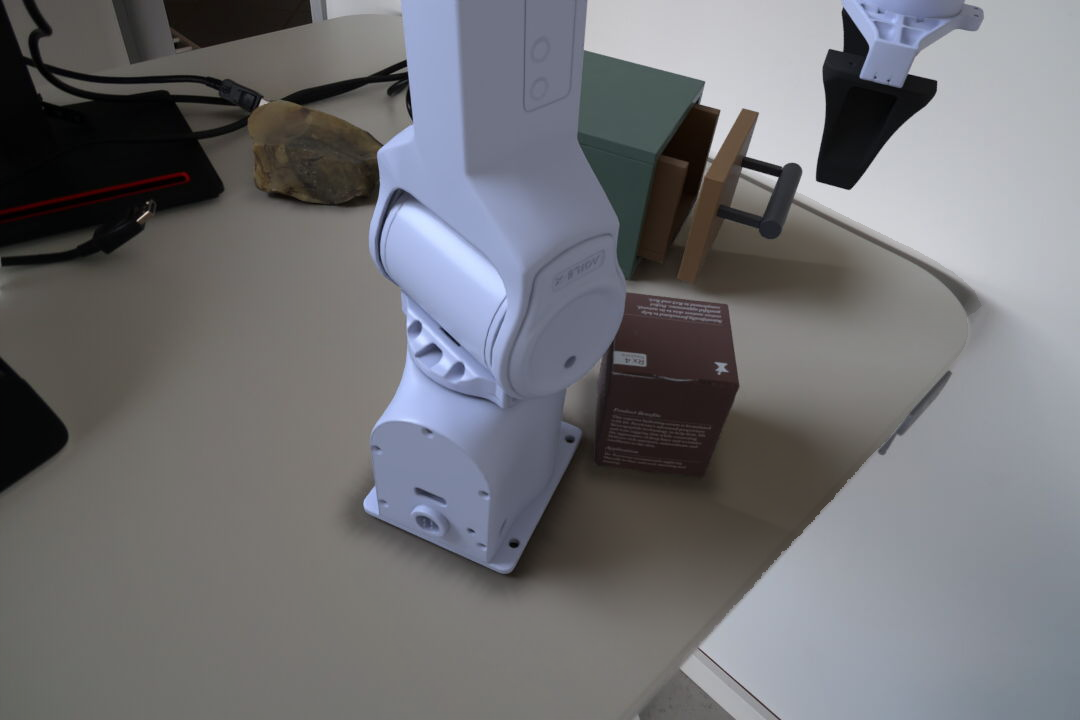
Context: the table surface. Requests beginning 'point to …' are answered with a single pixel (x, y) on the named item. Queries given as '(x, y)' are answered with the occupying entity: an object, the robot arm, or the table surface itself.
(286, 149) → the decorative stone
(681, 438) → the box
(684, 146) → the drawer
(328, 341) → the table surface
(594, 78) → the cabinet
